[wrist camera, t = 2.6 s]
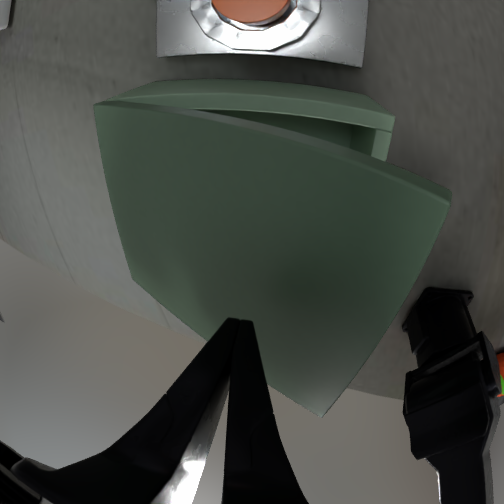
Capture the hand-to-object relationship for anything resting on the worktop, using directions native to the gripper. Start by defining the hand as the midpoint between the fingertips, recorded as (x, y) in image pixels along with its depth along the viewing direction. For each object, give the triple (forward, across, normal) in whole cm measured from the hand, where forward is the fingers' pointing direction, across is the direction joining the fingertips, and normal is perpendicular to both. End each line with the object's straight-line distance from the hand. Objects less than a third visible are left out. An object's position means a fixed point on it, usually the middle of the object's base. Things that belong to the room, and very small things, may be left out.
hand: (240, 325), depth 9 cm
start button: (+10, +1, -11) cm, 15 cm away
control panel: (+13, +1, -11) cm, 17 cm away
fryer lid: (+3, +2, 0) cm, 4 cm away
